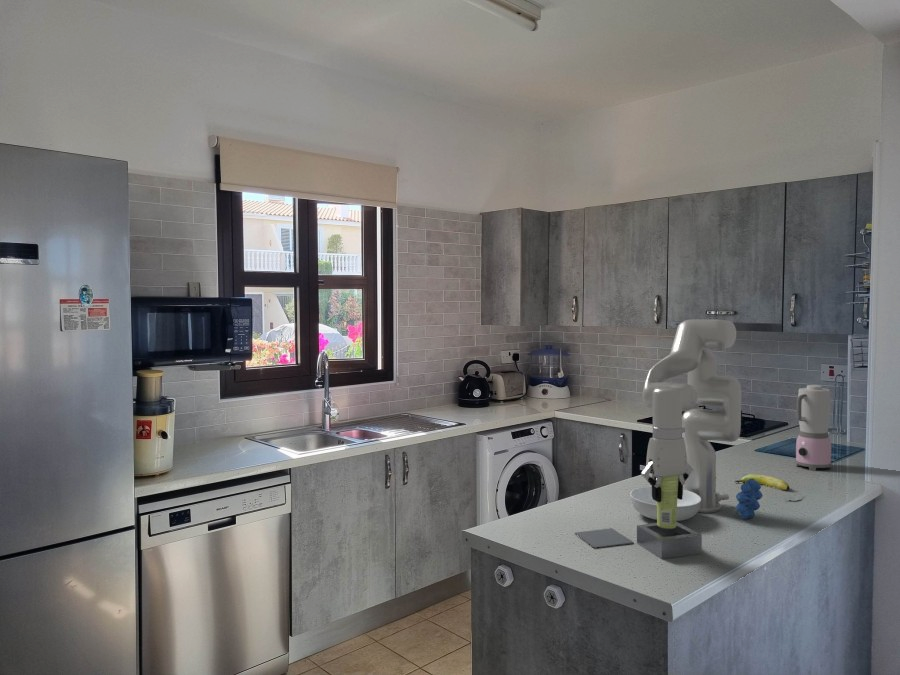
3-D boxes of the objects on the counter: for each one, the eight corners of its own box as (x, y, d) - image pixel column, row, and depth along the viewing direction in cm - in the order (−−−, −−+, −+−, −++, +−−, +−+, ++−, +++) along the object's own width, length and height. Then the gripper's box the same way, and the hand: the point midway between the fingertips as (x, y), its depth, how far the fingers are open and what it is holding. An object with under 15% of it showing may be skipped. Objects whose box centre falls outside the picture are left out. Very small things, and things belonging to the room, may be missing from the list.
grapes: (746, 510, 213) (746, 473, 212) (767, 516, 207) (767, 477, 206) (725, 518, 206) (725, 479, 205) (745, 524, 200) (746, 484, 200)
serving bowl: (654, 532, 195) (654, 508, 195) (617, 510, 215) (617, 489, 215) (716, 524, 201) (716, 501, 200) (674, 504, 221) (674, 483, 220)
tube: (663, 521, 187) (663, 451, 185) (680, 525, 183) (680, 454, 182) (653, 526, 183) (653, 455, 181) (671, 531, 179) (671, 458, 178)
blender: (810, 461, 273) (811, 383, 271) (838, 468, 262) (839, 386, 260) (782, 466, 266) (783, 385, 264) (810, 473, 255) (811, 389, 253)
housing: (674, 538, 190) (674, 520, 189) (701, 553, 178) (701, 535, 178) (636, 543, 186) (636, 525, 186) (661, 559, 175) (661, 540, 174)
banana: (831, 490, 235) (831, 479, 235) (796, 506, 218) (796, 494, 218) (734, 471, 262) (734, 461, 262) (696, 484, 245) (696, 474, 245)
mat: (611, 529, 198) (611, 528, 198) (633, 543, 186) (633, 542, 186) (574, 534, 194) (574, 532, 194) (594, 548, 183) (594, 547, 183)
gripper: (686, 428, 187) (686, 492, 188) (631, 433, 182) (631, 498, 184) (703, 433, 180) (703, 500, 181) (646, 438, 175) (646, 507, 176)
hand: (667, 498), depth 182 cm, fingers closed on tube, 5 cm apart
